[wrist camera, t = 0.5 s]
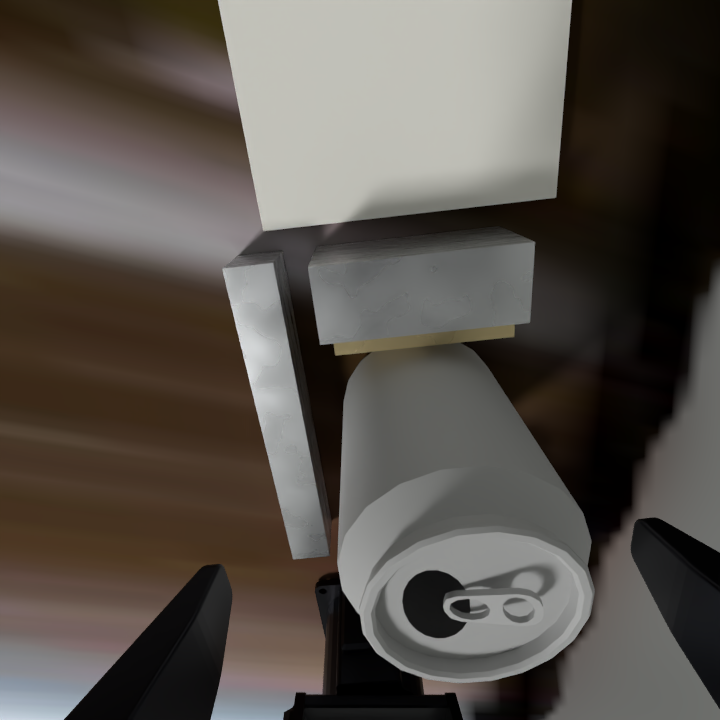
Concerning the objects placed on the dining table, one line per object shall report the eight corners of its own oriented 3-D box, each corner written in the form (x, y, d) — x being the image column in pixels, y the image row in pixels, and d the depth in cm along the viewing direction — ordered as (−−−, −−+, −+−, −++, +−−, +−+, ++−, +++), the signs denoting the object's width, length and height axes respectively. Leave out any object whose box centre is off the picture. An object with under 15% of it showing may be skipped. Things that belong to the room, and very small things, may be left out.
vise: (491, 506, 25) (514, 563, 22) (298, 524, 26) (289, 583, 22) (499, 226, 19) (535, 241, 15) (237, 255, 19) (210, 278, 15)
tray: (548, 196, 18) (556, 197, 17) (266, 228, 18) (263, 231, 18) (578, -223, 13) (591, -245, 12) (190, -167, 13) (181, -186, 13)
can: (325, 348, 21) (296, 552, 10) (478, 309, 20) (625, 483, 9) (364, 467, 24) (374, 721, 13) (498, 437, 23) (625, 680, 12)
